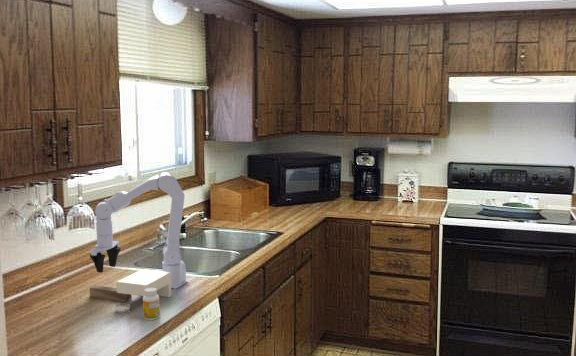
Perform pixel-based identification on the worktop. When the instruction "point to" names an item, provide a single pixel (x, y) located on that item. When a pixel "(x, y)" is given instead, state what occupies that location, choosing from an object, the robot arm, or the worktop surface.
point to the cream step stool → (146, 283)
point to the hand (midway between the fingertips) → (106, 269)
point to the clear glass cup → (122, 308)
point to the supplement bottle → (151, 304)
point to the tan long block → (108, 293)
